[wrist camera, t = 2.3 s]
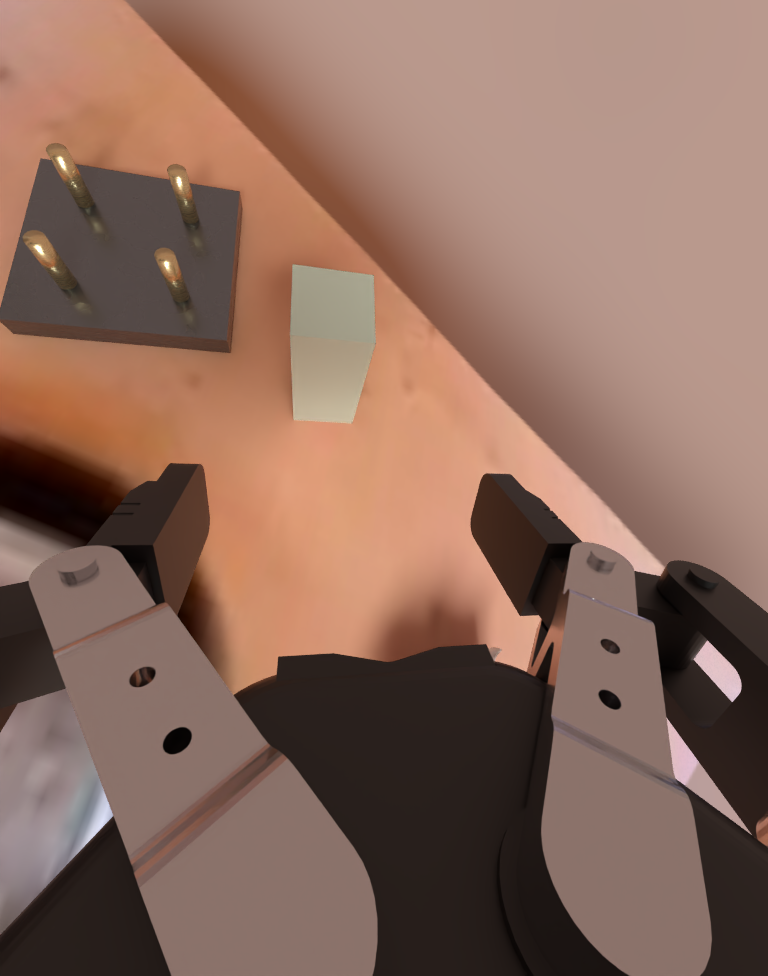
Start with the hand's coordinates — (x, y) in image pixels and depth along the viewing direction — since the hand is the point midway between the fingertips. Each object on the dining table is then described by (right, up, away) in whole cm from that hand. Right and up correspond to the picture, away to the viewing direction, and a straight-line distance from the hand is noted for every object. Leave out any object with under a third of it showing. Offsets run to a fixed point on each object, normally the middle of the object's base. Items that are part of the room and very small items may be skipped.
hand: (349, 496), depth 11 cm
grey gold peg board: (-18, +17, +19) cm, 31 cm away
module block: (-4, +7, +19) cm, 21 cm away
